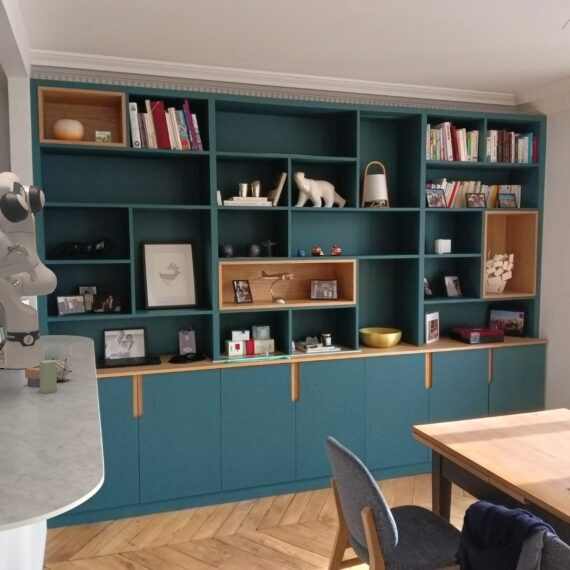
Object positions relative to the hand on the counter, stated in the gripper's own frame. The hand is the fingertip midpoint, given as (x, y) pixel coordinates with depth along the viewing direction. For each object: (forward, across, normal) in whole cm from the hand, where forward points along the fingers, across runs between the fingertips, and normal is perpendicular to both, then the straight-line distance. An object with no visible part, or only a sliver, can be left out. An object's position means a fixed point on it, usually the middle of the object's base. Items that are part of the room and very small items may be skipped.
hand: (26, 283), depth 192 cm
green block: (+30, -2, +21) cm, 37 cm away
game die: (+36, +7, +10) cm, 38 cm away
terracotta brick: (+28, +8, +15) cm, 33 cm away
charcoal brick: (+31, +9, +17) cm, 36 cm away
